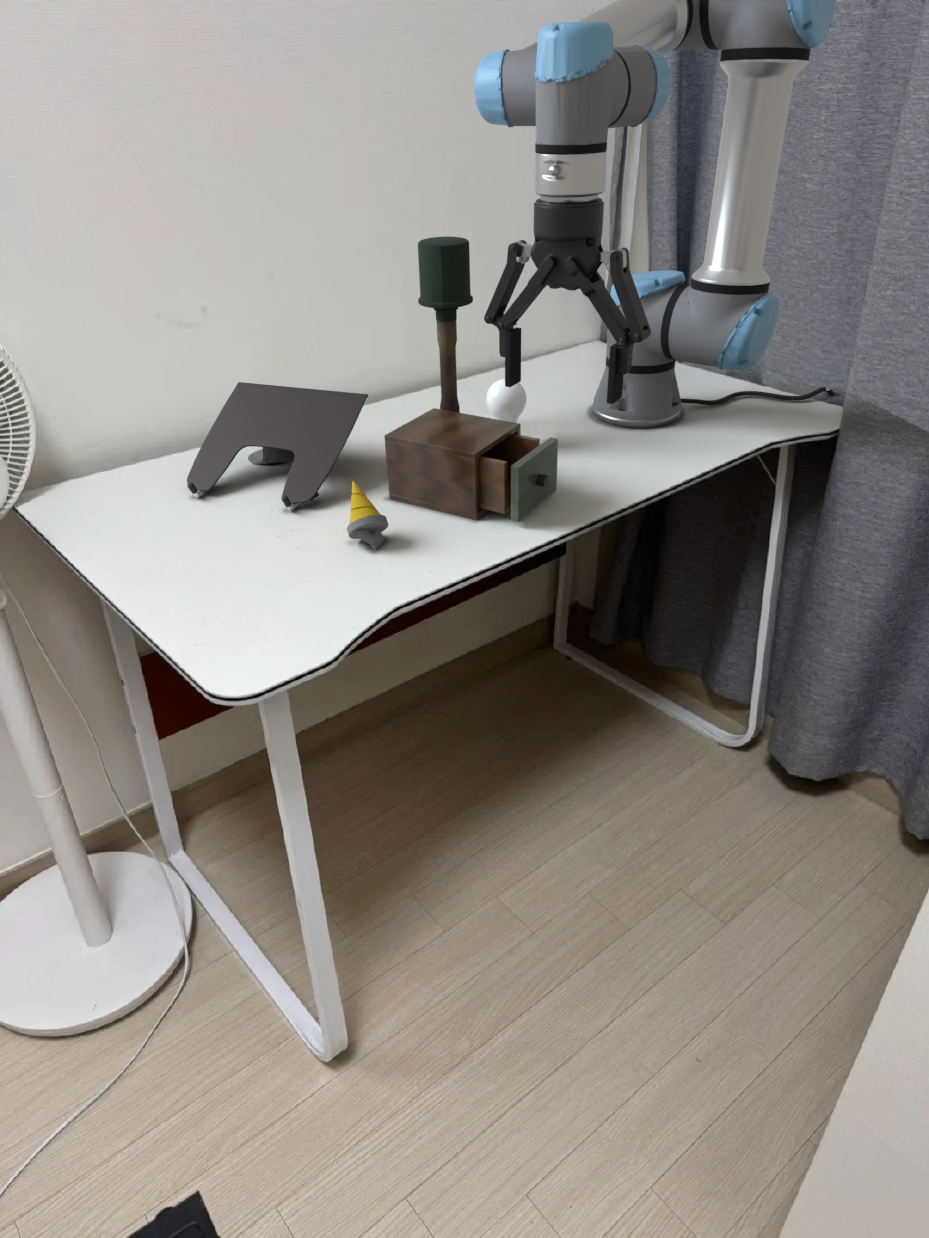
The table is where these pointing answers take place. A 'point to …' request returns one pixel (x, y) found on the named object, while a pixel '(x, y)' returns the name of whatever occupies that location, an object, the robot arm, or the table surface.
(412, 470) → the cabinet
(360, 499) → the drill bit
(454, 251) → the stick grenade
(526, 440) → the drawer
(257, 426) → the laptop tray
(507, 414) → the lightbulb
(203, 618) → the table surface
